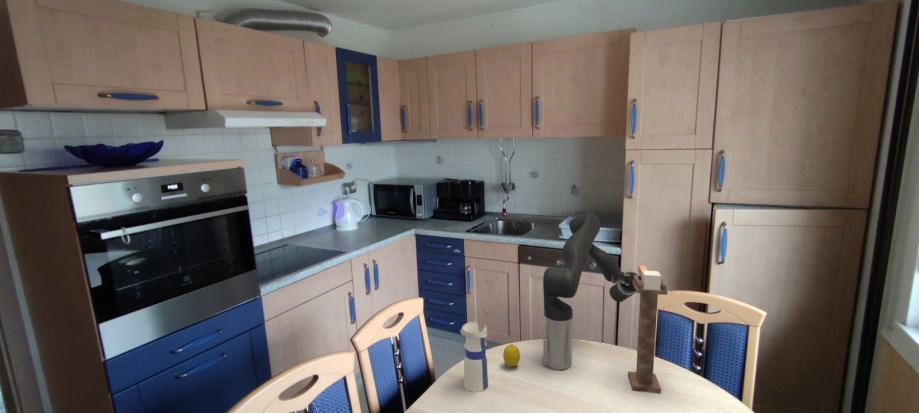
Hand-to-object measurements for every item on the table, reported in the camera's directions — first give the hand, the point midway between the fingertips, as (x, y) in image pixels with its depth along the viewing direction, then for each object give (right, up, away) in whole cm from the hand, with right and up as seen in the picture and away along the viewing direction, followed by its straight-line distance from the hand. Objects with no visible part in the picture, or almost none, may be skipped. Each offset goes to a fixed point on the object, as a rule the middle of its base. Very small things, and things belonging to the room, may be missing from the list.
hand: (636, 275), depth 145 cm
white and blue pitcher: (-56, -32, -12) cm, 65 cm away
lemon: (-43, -30, -2) cm, 53 cm away
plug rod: (-4, +1, -15) cm, 16 cm away
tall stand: (-4, -31, -14) cm, 34 cm away
